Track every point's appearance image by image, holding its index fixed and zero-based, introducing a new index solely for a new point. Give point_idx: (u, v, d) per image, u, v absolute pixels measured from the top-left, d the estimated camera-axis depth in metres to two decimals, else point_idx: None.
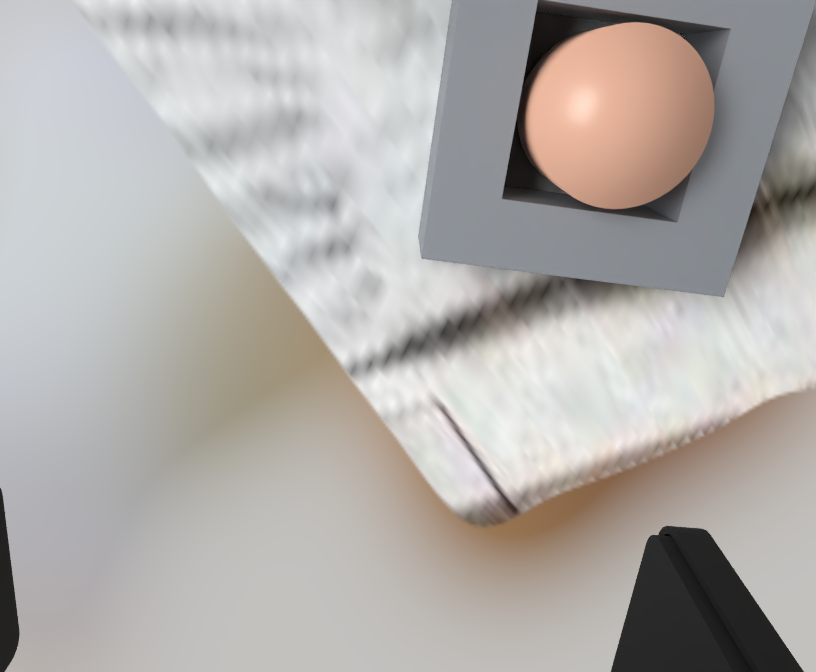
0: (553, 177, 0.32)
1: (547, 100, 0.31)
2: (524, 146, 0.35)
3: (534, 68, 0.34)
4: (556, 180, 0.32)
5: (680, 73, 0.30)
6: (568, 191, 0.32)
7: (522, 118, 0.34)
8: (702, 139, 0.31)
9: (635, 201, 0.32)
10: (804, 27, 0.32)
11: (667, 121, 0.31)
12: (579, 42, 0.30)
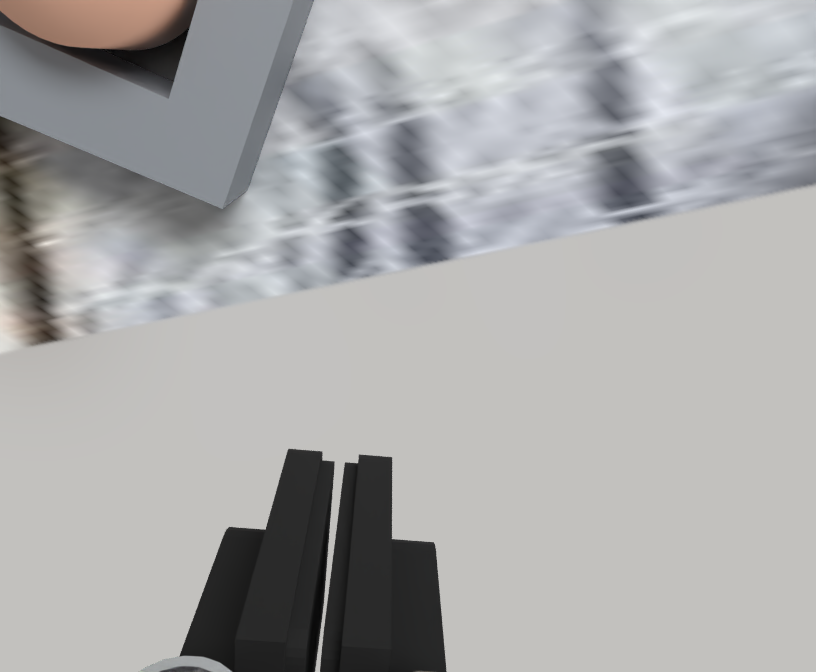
0: None
1: None
2: None
3: None
4: None
5: (112, 8, 0.26)
6: None
7: None
8: (32, 26, 0.26)
9: None
10: (157, 178, 0.30)
11: None
12: None
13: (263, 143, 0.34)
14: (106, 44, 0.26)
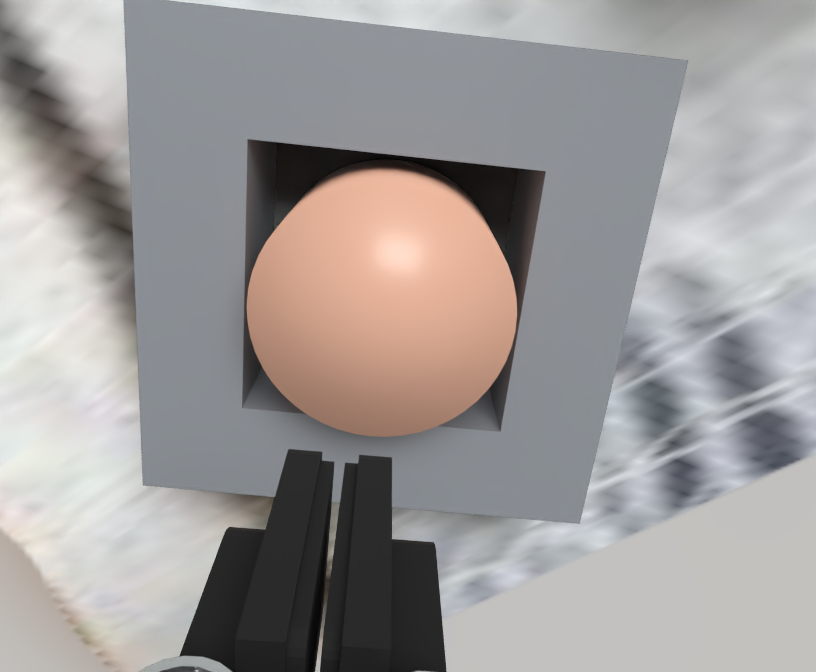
0: (287, 219, 0.19)
1: (406, 197, 0.19)
2: (334, 173, 0.23)
3: (446, 178, 0.23)
4: (283, 224, 0.19)
5: (448, 384, 0.21)
6: (267, 246, 0.20)
7: (375, 165, 0.22)
8: (360, 427, 0.22)
9: (262, 350, 0.21)
10: (500, 513, 0.25)
11: (382, 377, 0.21)
12: (491, 237, 0.20)
13: None
14: (445, 420, 0.22)
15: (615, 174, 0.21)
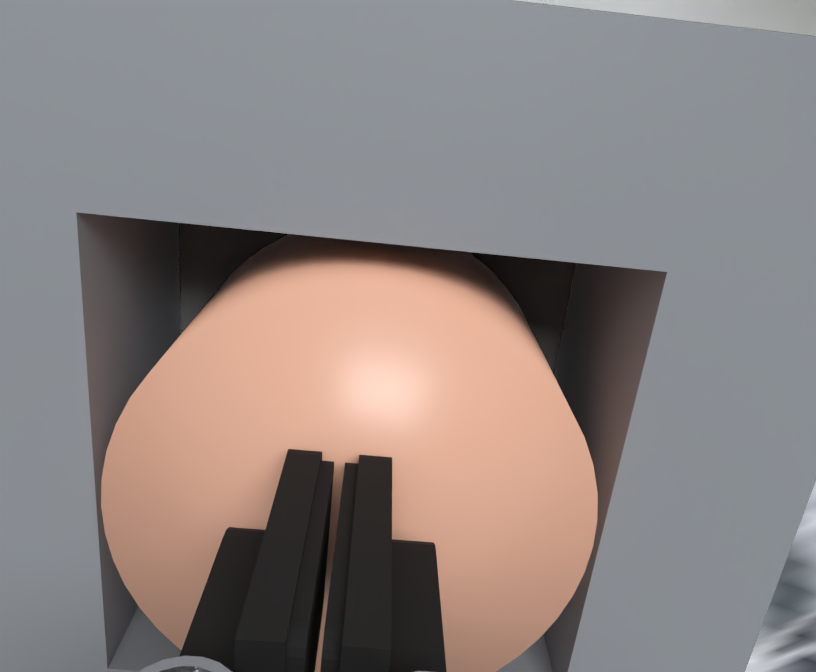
0: (166, 360, 0.10)
1: (393, 320, 0.10)
2: (276, 246, 0.14)
3: (461, 252, 0.14)
4: (158, 370, 0.10)
5: (470, 629, 0.12)
6: (131, 407, 0.10)
7: None
8: None
9: (136, 578, 0.12)
10: None
11: None
12: (554, 390, 0.10)
13: None
14: None
15: (802, 277, 0.11)
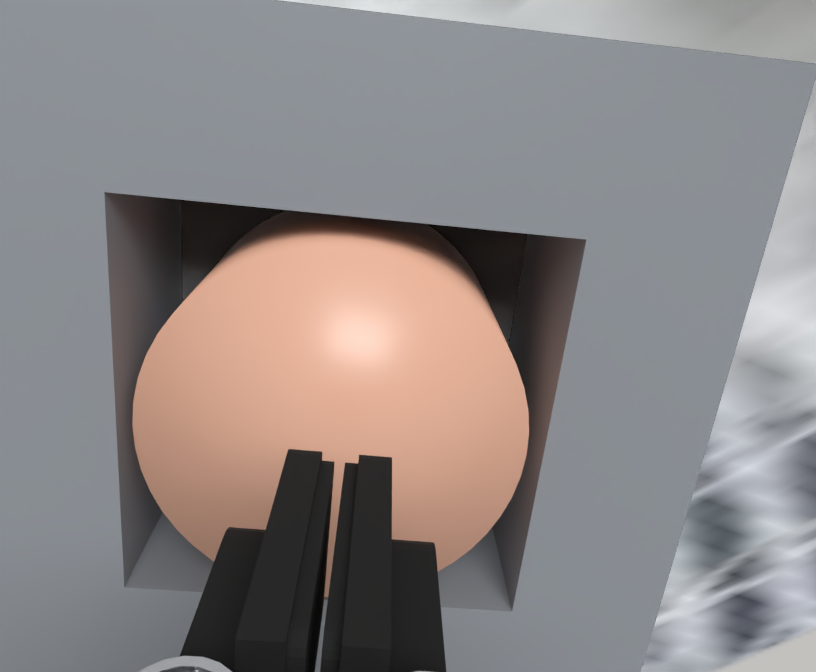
0: (186, 303, 0.13)
1: (364, 269, 0.13)
2: (270, 221, 0.17)
3: (424, 226, 0.17)
4: (180, 311, 0.13)
5: (430, 527, 0.15)
6: (158, 342, 0.13)
7: None
8: None
9: (159, 486, 0.14)
10: None
11: (335, 519, 0.15)
12: (491, 326, 0.13)
13: None
14: None
15: (695, 243, 0.13)
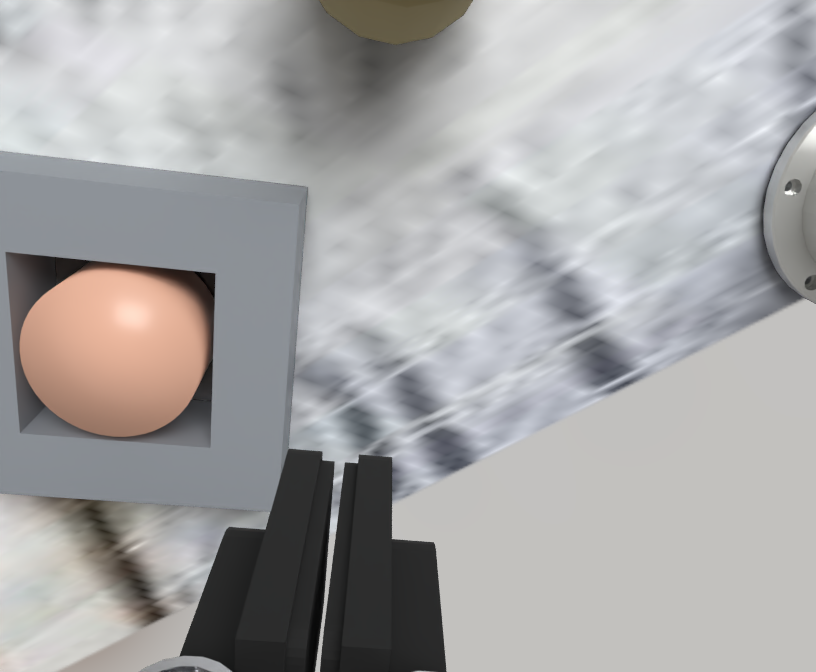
0: (41, 298, 0.30)
1: (117, 285, 0.30)
2: None
3: None
4: (38, 302, 0.30)
5: (160, 401, 0.33)
6: (29, 315, 0.31)
7: None
8: (105, 430, 0.33)
9: (33, 380, 0.32)
10: (218, 505, 0.35)
11: (115, 397, 0.32)
12: (175, 309, 0.31)
13: None
14: (163, 425, 0.33)
15: (263, 275, 0.31)
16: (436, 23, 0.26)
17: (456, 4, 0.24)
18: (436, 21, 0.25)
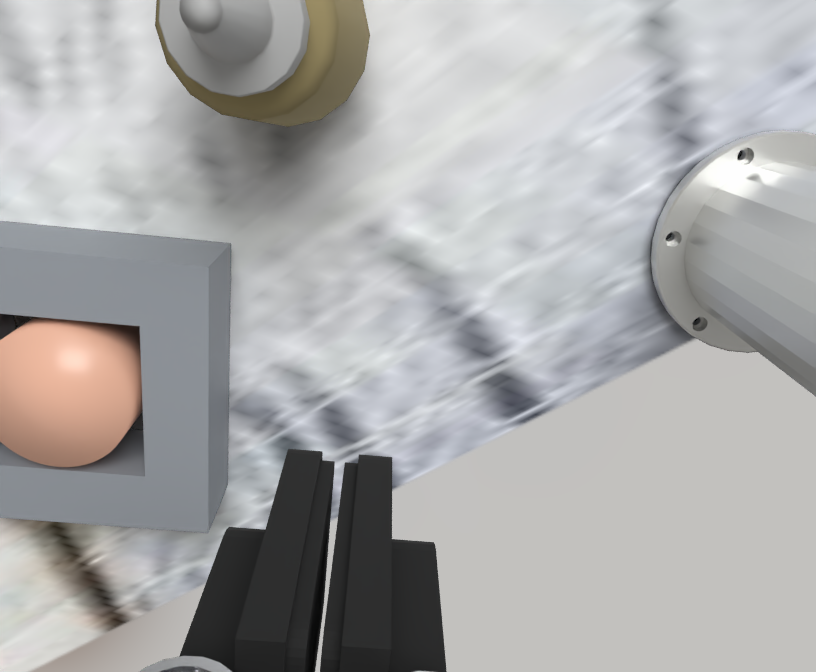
0: None
1: (53, 337, 0.35)
2: None
3: None
4: None
5: (97, 437, 0.37)
6: None
7: None
8: (51, 461, 0.38)
9: None
10: (155, 527, 0.40)
11: (58, 433, 0.37)
12: (105, 358, 0.35)
13: (227, 451, 0.44)
14: (101, 457, 0.38)
15: (181, 327, 0.35)
16: (307, 117, 0.30)
17: (314, 106, 0.28)
18: (304, 117, 0.29)
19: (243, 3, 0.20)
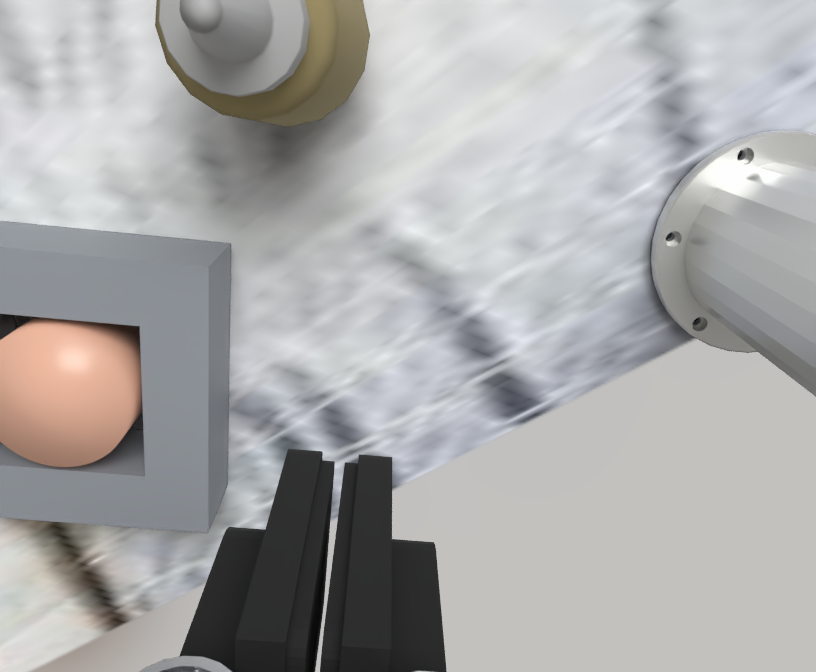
0: None
1: (53, 337, 0.35)
2: None
3: None
4: None
5: (97, 437, 0.37)
6: None
7: None
8: (51, 461, 0.38)
9: None
10: (155, 527, 0.40)
11: (58, 433, 0.37)
12: (105, 358, 0.35)
13: (227, 451, 0.44)
14: (101, 457, 0.38)
15: (181, 327, 0.35)
16: (307, 117, 0.30)
17: (314, 106, 0.28)
18: (304, 117, 0.29)
19: (243, 3, 0.20)
